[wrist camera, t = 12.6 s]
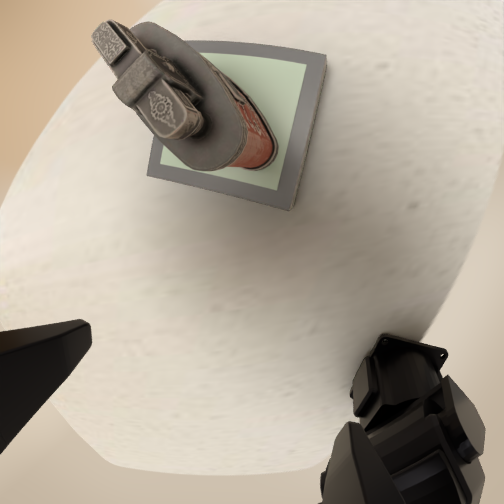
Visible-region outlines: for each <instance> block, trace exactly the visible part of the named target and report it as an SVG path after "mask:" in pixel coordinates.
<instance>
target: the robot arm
mask: <svg viewBox="0 0 504 504" xmlns="http://www.w3.org/2000/svg"><path fill="white" fill-rule="evenodd" d="M384 339H386V340H387V341H386V342H382V341H383V340H384ZM91 345H92V334H91V326H90V324H89V323H88V322H86V321H84V320H82V319H77V320H71V321H66V322H60V323H54V324H48V325H41V326H35V327H29V328H22V329H16V330H9V331H2V332H0V454H1V453H2V452H3V451H4V449H5V448H6V447H7V446H8V445H9V443H10V442H11V441H12V440H13V438H14V437H15V436H16V435H17V434H18V433H19V432H20V430H21V429H22V428H23V427H24V426H25V425H26V423H27V422H28V421H29V420H30V419H31V418H32V417H33V415H34V414H35V413H36V412H37V411H38V410H39V409H40V408H41V406H42V405H43V404H44V403H45V402H46V401H47V400H48V399H49V397H50V396H51V395H52V394H53V393H54V392H55V391H56V390H57V389H58V388H59V386H60V385H61V384H62V383H63V382H64V381H65V380H66V379H67V378H68V376H69V375H70V374H71V373H72V371H73V370H74V369H75V367H76V366H77V365H78V363H79V362H80V361H81V359H82V358H83V357H84V355H85V354H86V353H87V351H88V350H89V349H90V347H91ZM442 354H444V355H443V356H441V355H442ZM447 357H448V352H447V350H446V349H444V348H440V347H436V346H431V345H428V344H424V343H420V342H416V341H412V340H408V339H404V338H400V337H396V336H393V335H389V334H382V335H380V336H379V338H378V340H377V342H376V344H375V346H374V348H373V350H372V352H371V353H370V355H369V356H367V357H366V358H365V359H364V361H363V362H362V364H361V366H360V368H359V370H358V372H357V374H356V376H355V377H354V379H353V387H352V388H351V390H350V397H351V398H352V399H353V412H354V415H355V417H360V424H359V423H356V422H351V421H349V422H347V423H346V424H345V425H344V427H343V428H342V429H341V431H340V432H339V434H338V435H337V437H336V439H335V442H334V446H333V450H332V455H331V458H330V460H329V462H328V465H327V468H326V471H324V472H322V473H321V479H320V489H321V495H322V499H323V501H322V502H321V503H318V504H479V502H480V498H481V494H482V490H483V486H484V481H485V475H484V472H483V469H482V467H481V464H480V462H479V459H478V457H479V456H481V455H482V454H483V450H484V440H485V426H484V424H483V422H482V420H481V418H480V416H479V414H478V412H477V410H476V408H475V406H474V404H473V403H472V402H471V401H470V400H469V398H468V397H467V396H466V395H465V394H464V392H463V391H462V390H461V389H460V388H459V387H458V386H457V384H456V383H455V382H454V381H453V380H452V379H451V378H450V376H448V375H447V376H445V377H444V378H442V375H441V373H440V369H441V367H442V366H443V364H444V362H445V361H446V359H447Z"/></svg>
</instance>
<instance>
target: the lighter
mask: <svg viewBox="0 0 504 504" xmlns="http://www.w3.org/2000/svg"><path fill="white" fill-rule="evenodd" d="M91 37H92V42H93V45H94V46H95V48H96V49H97V51H98V52H99V53H100V55H101V56H102V58H103V59H104V61H105V62H106V63H107V65H108V66H109V68H110V69H111V71H112V72H113V73H114V75H115V76H116V78H117V79H118V80H117V81H116V82H115V84H114V85H113V86H112V89H113V91H114V93H115V94H116V96H117V97H118V98H119V99H120V100H121V101H122V102H123V103H124V104H125V105H127V106H128V107H130V108H132V109H133V110H134V111H135V112H136V113H137V115H138V116H139V117H140V119H141V120H142V121H143V122H144V123H145V125H146V126H147V127H148V128H149V129H150V131H151V132H152V133H153V134H154V135H155V137H156V138H157V139H158V140H159V141H160V142H161V143H162V144H163V145H164V146H165V147H166V148H167V149H168V150H170V151H171V152H172V153H173V154H174V155H175V156H176V157H177V158H178V159H179V160H180V161H181V162H183V163H184V164H185V165H186V166H188V167H189V168H191V169H193V170H197V171H216V170H220V169H224V168H225V167H240V168H242V169H244V170H249V171H257V170H263V169H264V168H266V167H268V166H270V165H271V164H272V163H273V162H274V161H275V159H276V157H277V155H278V150H279V145H278V142H277V139H276V137H275V135H274V133H273V131H272V129H271V127H270V126H269V124H268V122H267V120H266V118H265V117H264V115H263V114H262V112H261V111H260V110H259V108H258V107H257V105H256V104H255V103H254V101H253V100H252V99H251V97H250V96H249V95H248V94H247V93H246V92H245V91H244V90H243V89H242V88H240V87H239V86H238V85H237V84H236V83H235V82H234V81H233V80H232V79H231V78H230V77H228V76H227V75H225V74H224V73H223V72H221V71H220V70H219V69H217V68H216V67H215V66H214V65H213V64H212V63H211V62H210V61H209V60H207V59H206V58H205V57H204V56H202V55H201V54H200V53H199V52H196V51H195V50H194V49H193V48H192V47H190V46H189V45H188V44H187V43H186V42H185V41H183V40H182V39H181V38H179V37H178V36H176V35H175V34H173V33H171V32H170V31H168V30H166V29H164V28H163V27H161V26H159V25H157V24H155V23H152V22H144V23H140V24H138V25H136V26H134V27H132V28H131V29H130V30H129V29H128V28H127V27H125V26H123V25H121V24H119V23H117V22H115V21H113V20H111V19H109V20H107V21H105V22H102V23H101V24H100V25H99V26H98V27H97V28H96V29H95V30H94V32H93V33H92V35H91Z"/></svg>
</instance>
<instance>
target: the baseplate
mask: <svg viewBox="0 0 504 504" xmlns="http://www.w3.org/2000/svg"><path fill="white" fill-rule="evenodd" d="M185 42H186V43H187V44H188V45H189V46H190V47H192V48H193V49H194V50H195V51H196V52H199V53H200V54H201V55H202V56H204V57H205V58H206V59H207V60H209V61H210V62H211V63H212V64H213V65H214V66H215V67H216V68H217V69H219V70H220V71H221V72H223V73H224V74H225V75H227V76H228V77H230V78H231V79H232V80H233V81H234V82H235V83H236V84H237V85H238V86H239V87H240V88H242V89H243V90H244V91H245V92H246V93H247V94H248V95H249V96H250V97H251V99H252V100H253V101H254V103H255V104H256V105H257V107H258V108H259V110H260V111H261V112H262V114H263V115H264V117H265V118H266V120H267V122H268V124H269V126H270V127H271V129H272V131H273V133H274V135H275V137H276V139H277V142H278V145H279V150H278V155H277V157H276V159H275V161H274V162H273V163H272V164H271V165H270V166H268V167H266V168H264V169H263V170H257V171H249V170H244V169H242V168H240V167H225V168H224V169H220V170H216V171H197V170H193V169H191V168H189V167H188V166H186V165H185V164H184V163H183V162H181V161H180V160H179V159H178V158H177V157H176V156H175V155H174V154H173V153H172V152H171V151H170V150H168V149H167V148H166V147H165V146H164V145H163V144H162V143H161V142H160V141H159V140H158V139H157V138H156V137H155V135H154V138H153V143H152V148H151V153H150V159H149V164H148V170H147V176H150V177H154V178H159V179H163V180H168V181H172V182H177V183H181V184H185V185H190V186H194V187H198V188H202V189H206V190H210V191H215V192H219V193H223V194H227V195H231V196H234V197H238V198H242V199H246V200H250V201H254V202H257V203H261V204H265V205H269V206H272V207H276V208H280V209H283V210H287V211H290V210H291V209H292V208H293V206H294V202H295V198H296V194H297V190H298V186H299V182H300V178H301V174H302V170H303V166H304V162H305V158H306V154H307V150H308V146H309V142H310V138H311V133H312V129H313V125H314V121H315V116H316V112H317V108H318V103H319V99H320V95H321V90H322V86H323V81H324V77H325V72H326V68H327V58H326V55H324V54H320V53H315V52H310V51H304V50H298V49H292V48H286V47H279V46H272V45H263V44H254V43H242V42H227V41H185Z"/></svg>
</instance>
